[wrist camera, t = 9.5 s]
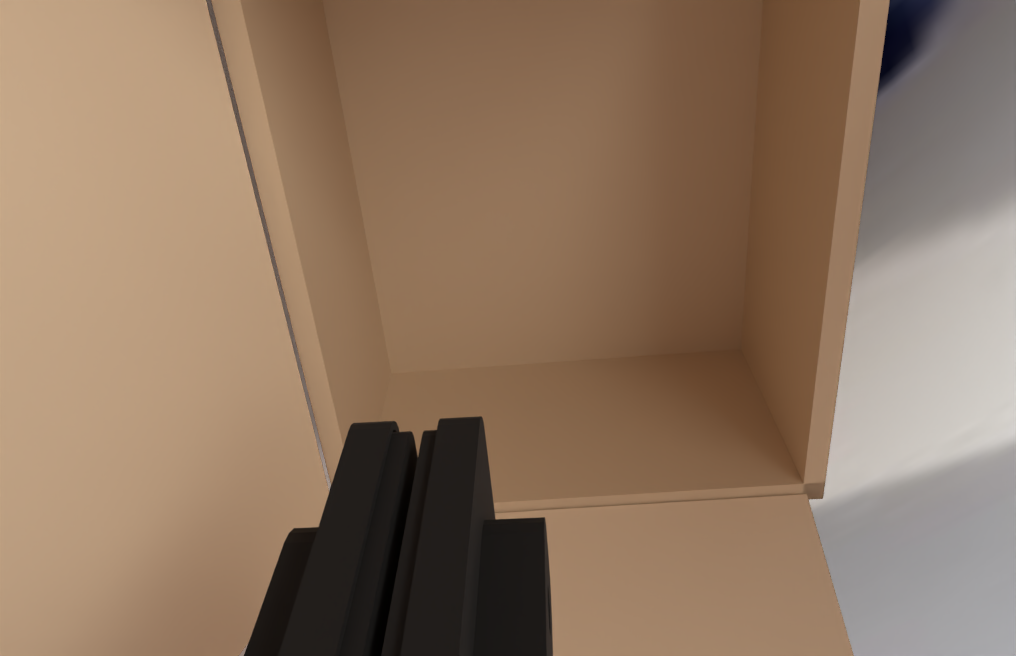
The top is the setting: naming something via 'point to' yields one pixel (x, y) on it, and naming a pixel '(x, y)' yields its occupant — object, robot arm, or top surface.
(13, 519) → the lid flap
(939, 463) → the top surface
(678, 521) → the carton
